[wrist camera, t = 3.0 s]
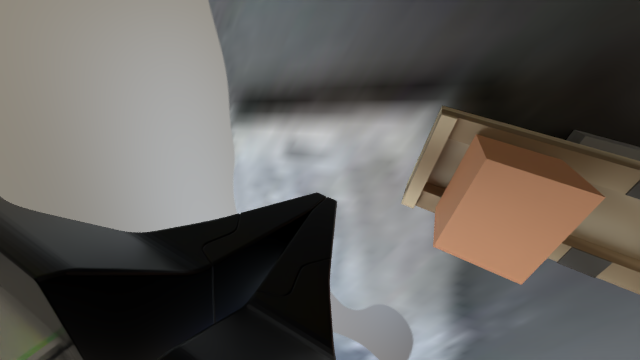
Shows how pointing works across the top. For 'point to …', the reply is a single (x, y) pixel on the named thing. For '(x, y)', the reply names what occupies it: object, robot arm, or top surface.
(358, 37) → the top surface
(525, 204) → the block
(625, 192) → the wooden tray
